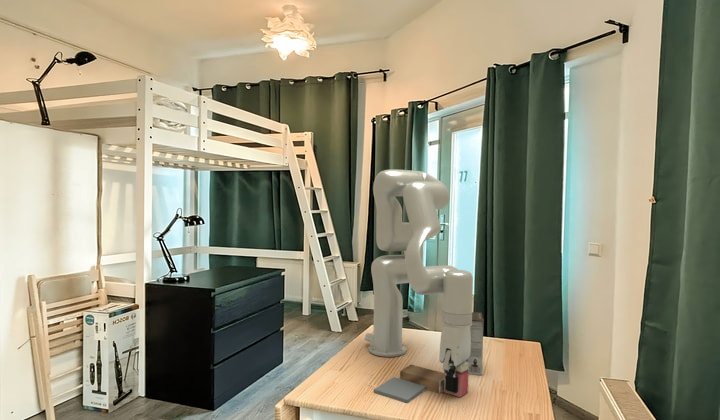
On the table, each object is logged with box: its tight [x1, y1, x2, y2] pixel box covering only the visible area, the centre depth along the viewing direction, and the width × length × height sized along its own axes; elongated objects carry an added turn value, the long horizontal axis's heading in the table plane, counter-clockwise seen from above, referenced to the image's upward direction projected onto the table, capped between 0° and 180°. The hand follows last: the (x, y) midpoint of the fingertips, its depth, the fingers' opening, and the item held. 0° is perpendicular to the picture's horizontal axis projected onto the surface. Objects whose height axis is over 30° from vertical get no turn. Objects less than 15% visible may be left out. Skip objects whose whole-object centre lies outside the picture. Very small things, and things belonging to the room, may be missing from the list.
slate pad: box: [373, 376, 427, 404], centre depth 114 cm, size 10×10×1 cm
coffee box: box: [467, 311, 484, 376], centre depth 130 cm, size 9×6×16 cm
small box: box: [443, 361, 469, 398], centre depth 113 cm, size 5×4×8 cm
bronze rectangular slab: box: [399, 364, 444, 394], centre depth 119 cm, size 12×6×3 cm, turn 54°
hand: (455, 387), depth 113 cm, fingers closed on small box, 4 cm apart
